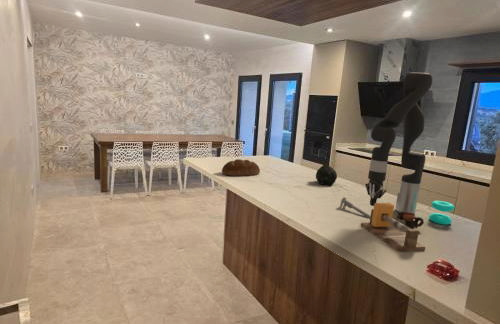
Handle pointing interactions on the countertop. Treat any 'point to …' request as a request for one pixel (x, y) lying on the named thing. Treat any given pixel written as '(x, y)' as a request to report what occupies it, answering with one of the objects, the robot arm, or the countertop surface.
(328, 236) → the countertop surface
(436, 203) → the donuts
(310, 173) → the countertop surface
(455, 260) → the countertop surface
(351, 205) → the caliper
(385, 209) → the collar
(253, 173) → the bread
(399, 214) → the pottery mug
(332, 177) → the squash
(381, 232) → the pipe stand
